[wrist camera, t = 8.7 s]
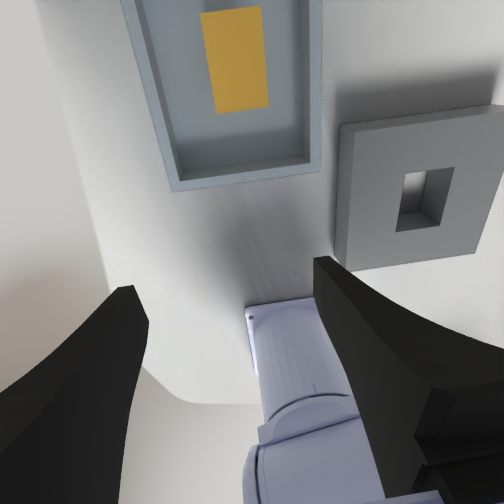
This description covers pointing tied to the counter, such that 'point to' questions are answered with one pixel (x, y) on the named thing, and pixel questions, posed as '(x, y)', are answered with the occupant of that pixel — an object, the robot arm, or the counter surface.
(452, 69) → the counter surface
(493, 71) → the counter surface
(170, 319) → the counter surface
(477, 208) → the socket block
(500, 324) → the counter surface
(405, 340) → the robot arm
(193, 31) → the parts tray
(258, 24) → the block
